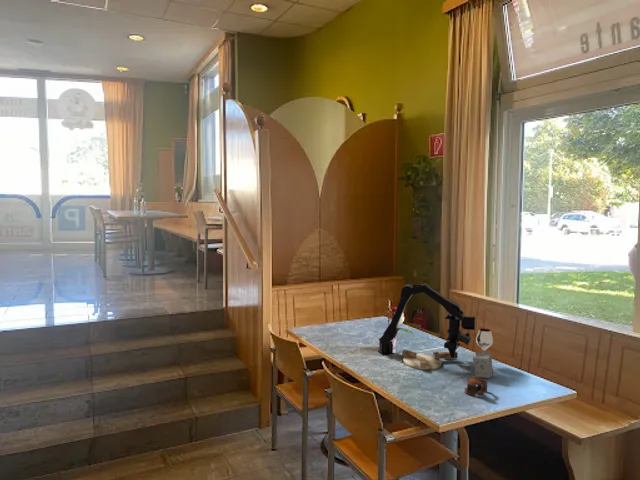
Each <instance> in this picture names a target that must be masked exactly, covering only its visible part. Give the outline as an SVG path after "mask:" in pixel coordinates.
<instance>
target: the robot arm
mask: <svg viewBox="0 0 640 480" xmlns="http://www.w3.org/2000/svg"><path fill="white" fill-rule="evenodd" d="M421 293H423V294H425V295H427V296H428V297H429V298H431V299H432V300H434V301H435V302H437V303H438V304H439V305H441V306H442V308H444V310H445V311H446V312H447V314H446V315H445V317H444V320H448V324H447V325H448V327H447V337H446V341H444V343H443V349H447V351H449V353H450V355H451V357H452V358H451V359H455V358H454V355H455V352H457V351H456V350H457V349H458V348H459V347H460V346H461V343H463V344H465V345H467V346H469V344H470V343H471V340H472V336H471V335H470V334H471V333H469V332H468V331H476V324H477V322H476V316H473V315H471V316H470V315H469V316H468V315H466V314H465V313H464V312H463V310H462V307H461V304H460V303H458V302H456V301H453V299H448V298H446V297H445V296H444V295H442V294H441V293H440V292H438V291H437V290H435V289H434V288H432V287H431V286H429V285H428V284H427V283H422V284H421V283H420V284H412V283H411V284H410V283H407V284H405V285H404V286H403V287H402V288H401V292H400V297H399V302H398V304H397V307H396V309H395V311H394V314H393V316H392V318H391V321H390V323H389V324H388V326H387V327H386V329H385V331H383V334H382V335H381V336H380V338H379V339H378V342H379V343H378V345H379V347H378V350H377V352H378V353H380V354H381V355H382V356H386V355H388V356H389V355H394V344H393V340H394V339H396V337H397V336H398V334H399V332H400V330H401V329H400V328H398V326H399V322H400V320H401V318H402V316H403V314H404V311H405V309H406V306H407V304H408V302H409V301H410V299H411V298H412V296H413V295H416V294H421ZM461 328H462V329H463V330H467V332H466V333H464V332H462V330H461ZM460 342H461V343H460Z"/></svg>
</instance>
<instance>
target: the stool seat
mask: <svg viewBox="0 0 640 480" xmlns="http://www.w3.org/2000/svg"><path fill="white" fill-rule="evenodd" d="M401 352H402V353H401V356H403V359H402V360H403V364H404V365H405V366H407V367H409V368H412V369H416V370H423V371H430V370H437V369H439V368H441V367H442V360H441V359H434V358H433V355H431V354H426V353H417V352H415V351H411V350H408V349H403V350H402V351H401Z"/></svg>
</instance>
